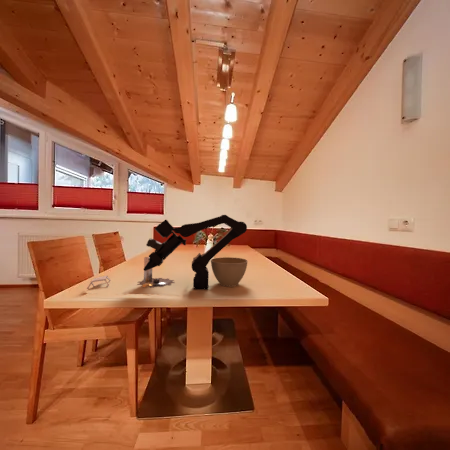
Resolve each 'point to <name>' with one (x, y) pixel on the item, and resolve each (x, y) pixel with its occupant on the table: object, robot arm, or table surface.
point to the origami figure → (99, 280)
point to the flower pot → (229, 270)
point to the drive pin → (147, 271)
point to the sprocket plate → (163, 281)
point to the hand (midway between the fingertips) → (145, 269)
